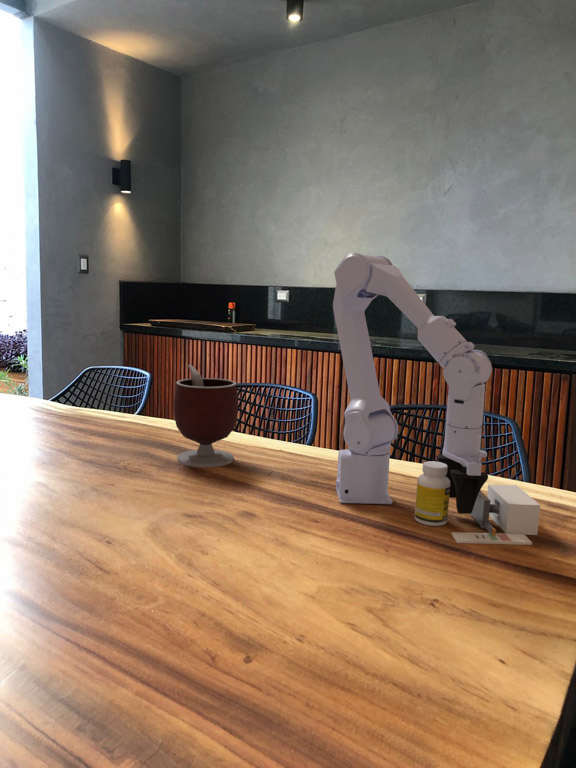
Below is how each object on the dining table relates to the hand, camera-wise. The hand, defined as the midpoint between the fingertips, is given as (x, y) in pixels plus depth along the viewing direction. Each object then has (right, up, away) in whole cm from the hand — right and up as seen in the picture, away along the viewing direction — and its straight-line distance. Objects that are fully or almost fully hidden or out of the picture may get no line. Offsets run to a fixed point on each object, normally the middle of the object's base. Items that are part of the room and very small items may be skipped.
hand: (457, 504), depth 103 cm
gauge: (+4, -3, -1) cm, 6 cm away
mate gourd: (-47, +3, +33) cm, 58 cm away
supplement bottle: (-4, -3, 0) cm, 5 cm away
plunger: (+7, -3, -2) cm, 8 cm away
